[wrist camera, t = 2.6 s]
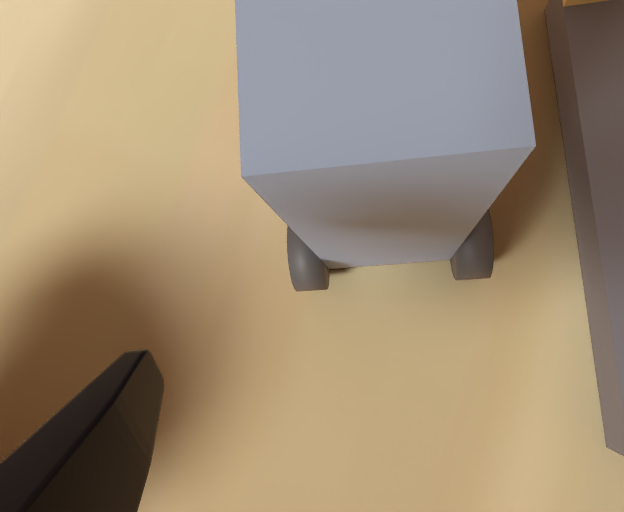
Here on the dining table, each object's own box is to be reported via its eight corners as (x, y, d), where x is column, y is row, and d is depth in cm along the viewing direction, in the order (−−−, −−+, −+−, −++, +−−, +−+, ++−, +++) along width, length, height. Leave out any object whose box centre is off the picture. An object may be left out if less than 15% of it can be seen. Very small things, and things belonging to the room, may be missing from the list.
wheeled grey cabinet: (482, 281, 21) (624, 198, 8) (303, 294, 22) (178, 237, 9) (461, 88, 22) (553, -244, 9) (293, 109, 23) (172, -165, 10)
